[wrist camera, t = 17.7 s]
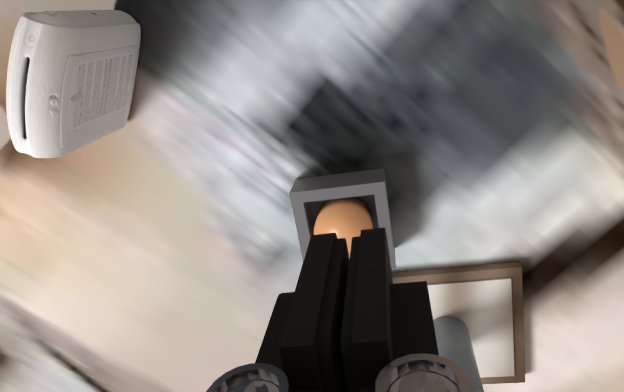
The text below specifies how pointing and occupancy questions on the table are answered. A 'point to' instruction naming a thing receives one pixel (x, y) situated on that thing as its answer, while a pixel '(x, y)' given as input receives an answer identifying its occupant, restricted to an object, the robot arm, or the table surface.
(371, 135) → the table surface
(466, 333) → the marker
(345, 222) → the button
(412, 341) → the robot arm
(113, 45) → the photo printer
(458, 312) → the board
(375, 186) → the button housing
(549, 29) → the table surface
